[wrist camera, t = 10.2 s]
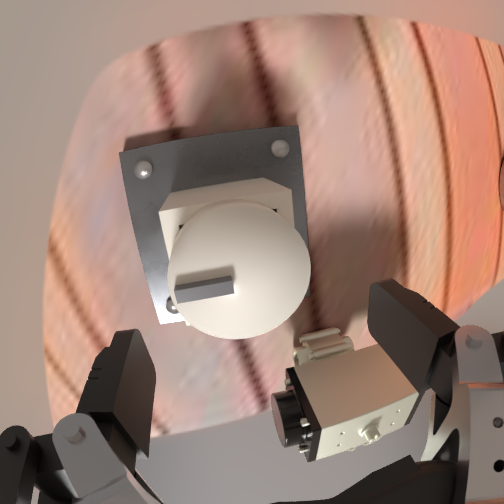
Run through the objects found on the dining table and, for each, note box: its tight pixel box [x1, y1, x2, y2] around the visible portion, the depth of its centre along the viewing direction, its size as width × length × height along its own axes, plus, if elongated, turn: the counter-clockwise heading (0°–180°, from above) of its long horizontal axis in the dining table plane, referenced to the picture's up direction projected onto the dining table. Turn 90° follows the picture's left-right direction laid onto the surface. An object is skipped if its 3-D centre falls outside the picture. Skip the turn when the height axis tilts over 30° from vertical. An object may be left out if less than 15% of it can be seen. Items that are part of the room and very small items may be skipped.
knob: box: [159, 178, 311, 339], centre depth 16 cm, size 6×6×8 cm
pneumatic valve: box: [271, 327, 425, 462], centre depth 21 cm, size 6×12×12 cm, turn 95°
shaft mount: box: [119, 126, 310, 324], centre depth 18 cm, size 12×13×6 cm
